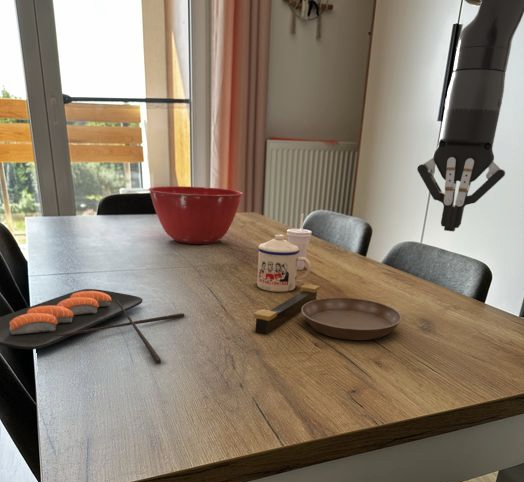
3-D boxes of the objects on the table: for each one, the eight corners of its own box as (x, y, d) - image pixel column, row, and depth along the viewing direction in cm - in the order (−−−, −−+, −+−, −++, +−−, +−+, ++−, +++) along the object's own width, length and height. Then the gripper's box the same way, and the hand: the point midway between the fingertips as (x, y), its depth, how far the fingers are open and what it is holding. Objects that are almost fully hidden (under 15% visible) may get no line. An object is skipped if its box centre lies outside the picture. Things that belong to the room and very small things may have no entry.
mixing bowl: (161, 230, 176) (160, 183, 170) (243, 235, 176) (245, 188, 170) (139, 246, 150) (137, 191, 144) (237, 251, 150) (238, 196, 144)
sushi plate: (86, 296, 102) (85, 277, 101) (223, 321, 92) (224, 300, 91) (-42, 344, 77) (-46, 319, 75) (128, 384, 67) (127, 357, 66)
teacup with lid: (251, 289, 113) (253, 236, 108) (261, 280, 121) (264, 230, 116) (305, 296, 110) (309, 241, 106) (312, 286, 118) (316, 235, 114)
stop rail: (318, 301, 107) (319, 285, 106) (268, 335, 87) (269, 316, 86) (305, 298, 108) (306, 283, 107) (252, 331, 88) (253, 313, 87)
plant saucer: (318, 347, 83) (320, 329, 82) (289, 312, 99) (290, 297, 98) (417, 343, 87) (420, 326, 86) (373, 310, 103) (375, 296, 102)
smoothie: (301, 272, 130) (306, 215, 125) (279, 268, 133) (283, 212, 128) (312, 268, 135) (317, 213, 130) (291, 264, 138) (295, 210, 133)
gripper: (523, 111, 74) (496, 232, 81) (429, 109, 79) (411, 222, 86) (522, 107, 68) (493, 239, 75) (420, 105, 73) (401, 228, 80)
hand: (449, 230), depth 80 cm, fingers closed
